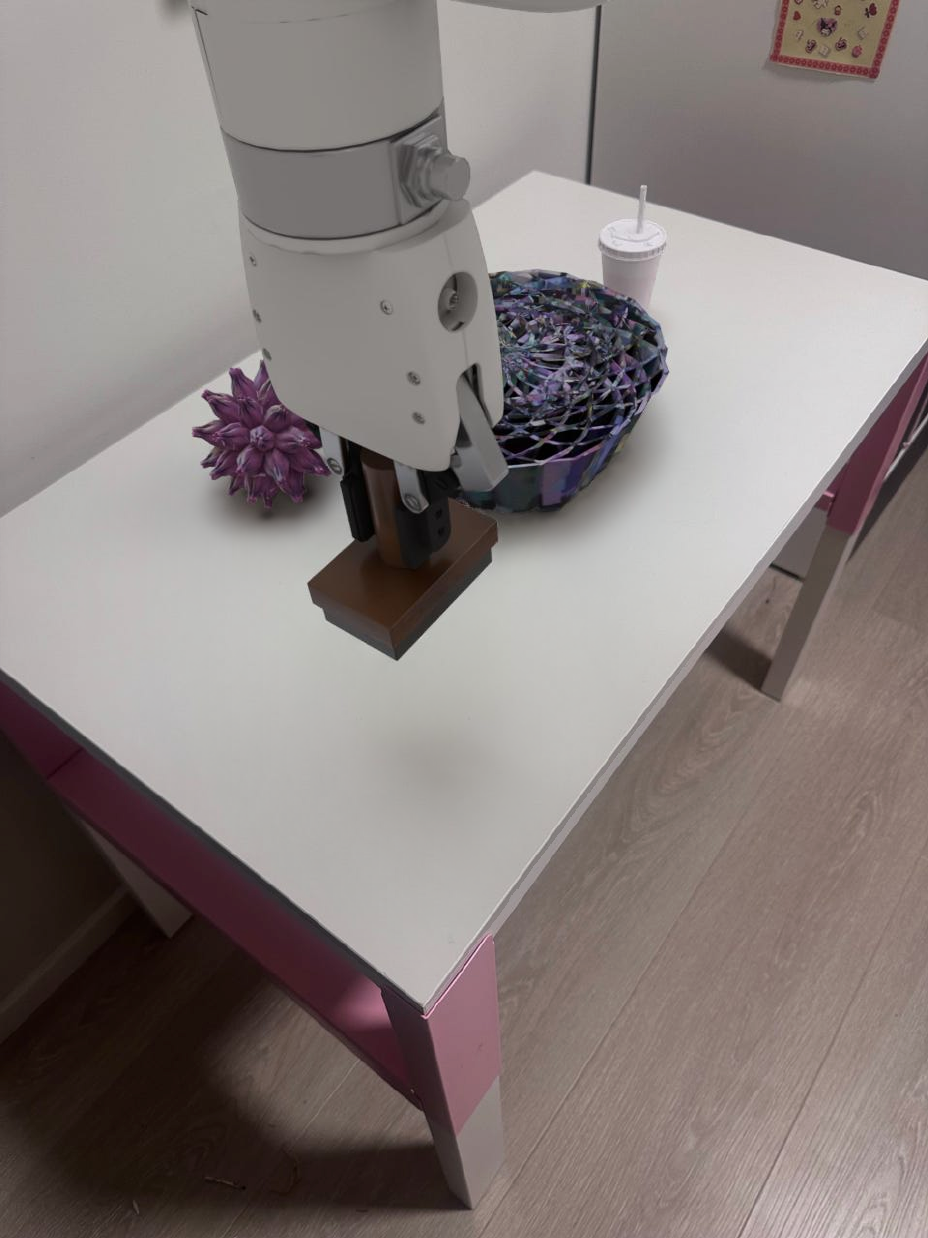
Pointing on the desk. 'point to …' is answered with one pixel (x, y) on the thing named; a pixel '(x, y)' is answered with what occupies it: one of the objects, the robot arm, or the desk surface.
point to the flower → (258, 440)
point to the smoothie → (632, 254)
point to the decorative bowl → (566, 384)
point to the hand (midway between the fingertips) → (401, 535)
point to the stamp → (399, 570)
